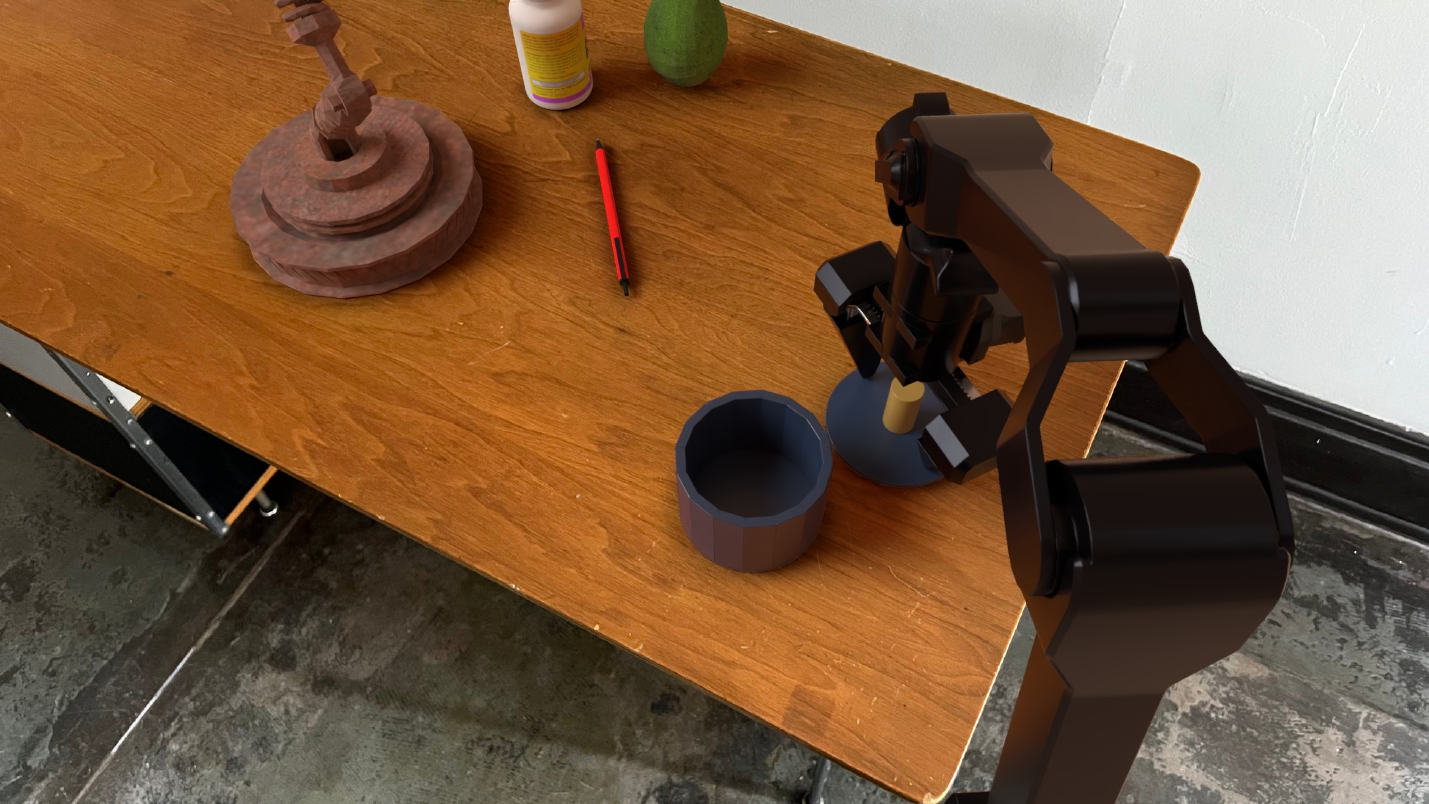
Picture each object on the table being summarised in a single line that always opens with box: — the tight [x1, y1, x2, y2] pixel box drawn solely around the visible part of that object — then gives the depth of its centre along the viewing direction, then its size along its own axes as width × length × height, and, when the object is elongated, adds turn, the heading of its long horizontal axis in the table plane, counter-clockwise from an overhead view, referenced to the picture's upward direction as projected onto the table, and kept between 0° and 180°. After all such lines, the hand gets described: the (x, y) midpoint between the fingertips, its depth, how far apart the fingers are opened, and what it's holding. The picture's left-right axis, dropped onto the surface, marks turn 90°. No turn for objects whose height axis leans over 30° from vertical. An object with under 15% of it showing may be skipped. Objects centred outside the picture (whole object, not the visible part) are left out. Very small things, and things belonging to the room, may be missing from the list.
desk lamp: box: [228, 0, 484, 300], centre depth 71 cm, size 21×32×40 cm, turn 36°
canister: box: [674, 389, 834, 574], centre depth 67 cm, size 10×10×8 cm
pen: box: [594, 138, 631, 297], centre depth 85 cm, size 1×19×1 cm, turn 11°
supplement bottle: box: [508, 0, 594, 111], centre depth 90 cm, size 7×7×13 cm
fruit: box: [643, 0, 729, 88], centre depth 91 cm, size 8×8×12 cm
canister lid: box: [824, 361, 946, 489], centre depth 71 cm, size 11×11×6 cm
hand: (898, 419), depth 73 cm, fingers open, 9 cm apart
